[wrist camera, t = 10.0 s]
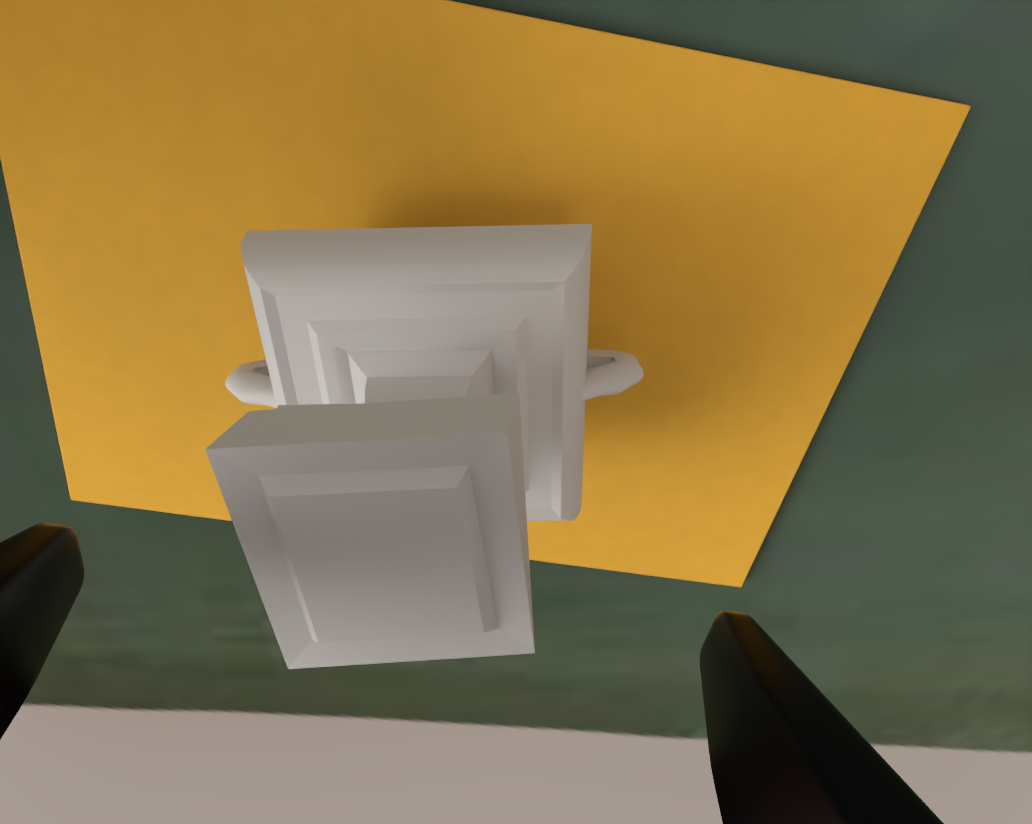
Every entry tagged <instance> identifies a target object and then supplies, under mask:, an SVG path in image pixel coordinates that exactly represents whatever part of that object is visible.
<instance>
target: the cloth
mask: <svg viewBox="0 0 1032 824" xmlns="http://www.w3.org/2000/svg"><path fill="white" fill-rule="evenodd" d="M970 107H971V106H969V105H965V104H961V103H956V102H951V101H946V100H941V99H936V98H931V97H926V96H921V95H916V94H911V93H906V92H901V91H896V90H892V89H887V88H882V87H877V86H872V85H867V84H862V83H857V82H852V81H847V80H842V79H837V78H832V77H827V76H822V75H817V74H812V73H807V72H802V71H797V70H792V69H787V68H782V67H777V66H772V65H767V64H762V63H757V62H753V61H748V60H743V59H738V58H733V57H728V56H723V55H718V54H713V53H708V52H703V51H698V50H693V49H688V48H683V47H678V46H673V45H668V44H663V43H658V42H653V41H648V40H643V39H638V38H633V37H628V36H623V35H618V34H614V33H609V32H604V31H599V30H594V29H589V28H584V27H579V26H574V25H569V24H564V23H559V22H554V21H549V20H544V19H539V18H534V17H529V16H524V15H519V14H514V13H509V12H504V11H499V10H494V9H489V8H484V7H480V6H475V5H470V4H465V3H460V2H455V1H450V0H0V159H1V163H2V168H3V173H4V178H5V183H6V188H7V192H8V197H9V202H10V207H11V212H12V217H13V222H14V226H15V231H16V236H17V241H18V246H19V251H20V255H21V260H22V265H23V270H24V275H25V280H26V284H27V289H28V294H29V299H30V304H31V309H32V313H33V318H34V323H35V328H36V333H37V338H38V343H39V347H40V352H41V357H42V362H43V367H44V372H45V376H46V381H47V386H48V391H49V396H50V401H51V405H52V410H53V415H54V420H55V425H56V430H57V435H58V439H59V444H60V449H61V454H62V459H63V464H64V468H65V473H66V478H67V483H68V488H69V493H70V497H71V500H75V501H83V502H91V503H98V504H106V505H114V506H121V507H129V508H137V509H144V510H152V511H160V512H167V513H175V514H183V515H190V516H198V517H206V518H214V519H221V520H229V521H232V519H231V516H230V514H229V511H228V508H227V506H226V503H225V501H224V498H223V495H222V493H221V490H220V487H219V485H218V482H217V479H216V477H215V474H214V471H213V469H212V466H211V464H210V461H209V458H208V456H207V453H206V450H205V449H206V448H207V447H208V446H209V445H210V444H212V443H213V442H214V441H215V440H216V439H217V438H218V437H220V436H221V435H222V434H223V433H224V432H225V431H226V430H228V429H229V428H230V427H231V426H232V425H233V424H234V423H236V422H237V421H238V420H239V419H240V418H241V417H243V416H244V415H245V414H246V413H247V412H248V411H257V410H272V409H277V408H274V407H270V406H266V405H255V404H246V403H244V402H241V401H240V400H239V399H238V398H237V397H236V396H234V395H233V394H232V393H231V392H230V391H229V390H228V389H227V387H226V386H225V381H226V379H227V377H228V376H229V375H230V374H231V373H232V372H233V371H234V370H235V369H236V368H237V367H238V366H239V365H241V364H245V363H250V362H254V361H258V360H266V358H265V354H264V349H263V345H262V341H261V336H260V332H259V328H258V324H257V319H256V315H255V311H254V307H253V302H252V298H251V294H250V290H249V285H248V281H247V277H246V273H245V268H244V264H243V257H242V250H241V242H242V241H243V239H244V237H245V235H246V231H268V230H317V229H366V228H414V227H463V226H512V225H560V224H592V237H591V264H590V291H589V319H588V346H587V348H589V349H600V350H615V351H620V352H625V353H630V354H632V355H634V356H635V357H636V358H637V360H638V362H639V364H640V365H641V367H642V369H643V373H644V375H643V378H642V379H641V380H640V381H639V382H637V383H636V384H634V385H632V386H631V387H629V388H627V389H626V390H624V391H623V392H621V393H619V394H614V395H604V396H598V397H594V398H591V399H587V400H586V401H585V428H584V455H583V483H582V500H581V512H580V513H579V515H578V516H577V517H576V519H575V520H570V521H527V531H528V548H529V560H536V561H544V562H551V563H559V564H567V565H574V566H582V567H590V568H597V569H605V570H613V571H620V572H628V573H636V574H643V575H651V576H659V577H666V578H674V579H682V580H689V581H697V582H705V583H712V584H720V585H728V586H735V587H741V586H742V584H743V582H744V580H745V578H746V576H747V574H748V572H749V570H750V568H751V566H752V563H753V561H754V559H755V557H756V555H757V553H758V551H759V549H760V547H761V545H762V543H763V540H764V538H765V536H766V534H767V532H768V530H769V528H770V526H771V524H772V522H773V520H774V517H775V515H776V513H777V511H778V509H779V507H780V505H781V503H782V501H783V499H784V497H785V494H786V492H787V490H788V488H789V486H790V484H791V482H792V480H793V478H794V476H795V474H796V471H797V469H798V467H799V465H800V463H801V461H802V459H803V457H804V455H805V453H806V451H807V448H808V446H809V444H810V442H811V440H812V438H813V436H814V434H815V432H816V430H817V428H818V425H819V423H820V421H821V419H822V417H823V415H824V413H825V411H826V409H827V407H828V405H829V402H830V400H831V398H832V396H833V394H834V392H835V390H836V388H837V386H838V384H839V382H840V379H841V377H842V375H843V373H844V371H845V369H846V367H847V365H848V363H849V361H850V359H851V356H852V354H853V352H854V350H855V348H856V346H857V344H858V342H859V340H860V338H861V336H862V333H863V331H864V329H865V327H866V325H867V323H868V321H869V319H870V317H871V315H872V313H873V310H874V308H875V306H876V304H877V302H878V300H879V298H880V296H881V294H882V292H883V290H884V287H885V285H886V283H887V281H888V279H889V277H890V275H891V273H892V271H893V269H894V267H895V264H896V262H897V260H898V258H899V256H900V254H901V252H902V250H903V248H904V246H905V244H906V241H907V239H908V237H909V235H910V233H911V231H912V229H913V227H914V225H915V223H916V221H917V218H918V216H919V214H920V212H921V210H922V208H923V206H924V204H925V202H926V200H927V198H928V196H929V193H930V191H931V189H932V187H933V185H934V183H935V181H936V179H937V177H938V175H939V173H940V170H941V168H942V166H943V164H944V162H945V160H946V158H947V156H948V154H949V152H950V150H951V147H952V145H953V143H954V141H955V139H956V137H957V135H958V133H959V131H960V129H961V127H962V124H963V122H964V120H965V118H966V116H967V114H968V112H969V110H970Z"/></svg>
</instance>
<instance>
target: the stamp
mask: <svg viewBox="0 0 1032 824" xmlns="http://www.w3.org/2000/svg"><path fill="white" fill-rule="evenodd" d="M591 237H592V224H560V225H512V226H463V227H414V228H366V229H317V230H268V231H246V235H245V237H244V239H243V241H242V242H241V250H242V257H243V264H244V268H245V273H246V277H247V281H248V285H249V290H250V294H251V298H252V302H253V307H254V311H255V315H256V319H257V324H258V328H259V332H260V336H261V341H262V345H263V349H264V354H265V358H266V360H258V361H254V362H250V363H245V364H241V365H239V366H238V367H237V368H236V369H235V370H234V371H233V372H232V373H231V374H230V375H229V376H228V377H227V379H226V381H225V386H226V387H227V389H228V390H229V391H230V392H231V393H232V394H233V395H234V396H236V397H237V398H238V399H239V400H240V401H241V402H244V403H246V404H255V405H266V406H270V407H274V408H277V409H272V410H257V411H248V412H247V413H246V414H245V415H244V416H243V417H241V418H240V419H239V420H238V421H237V422H236V423H234V424H233V425H232V426H231V427H230V428H229V429H228V430H226V431H225V432H224V433H223V434H222V435H221V436H220V437H218V438H217V439H216V440H215V441H214V442H213V443H212V444H210V445H209V446H208V447H207V448H206V449H205V450H206V453H207V456H208V458H209V461H210V464H211V466H212V469H213V471H214V474H215V477H216V479H217V482H218V485H219V487H220V490H221V493H222V495H223V498H224V501H225V503H226V506H227V508H228V511H229V514H230V516H231V519H232V522H233V524H234V527H235V530H236V532H237V535H238V538H239V540H240V543H241V545H242V548H243V551H244V553H245V556H246V559H247V561H248V564H249V567H250V569H251V572H252V575H253V577H254V580H255V583H256V585H257V588H258V590H259V593H260V596H261V598H262V601H263V604H264V606H265V609H266V612H267V614H268V617H269V620H270V622H271V625H272V627H273V630H274V633H275V635H276V638H277V641H278V643H279V646H280V649H281V651H282V654H283V657H284V659H285V662H286V664H287V667H288V669H297V668H313V667H328V666H344V665H359V664H375V663H390V662H406V661H421V660H437V659H453V658H468V657H484V656H499V655H515V654H530V653H535V649H534V632H533V615H532V598H531V581H530V565H529V548H528V531H527V521H570V520H575V519H576V517H577V516H578V515H579V513H580V512H581V500H582V483H583V455H584V428H585V401H586V400H587V399H591V398H594V397H598V396H604V395H614V394H619V393H621V392H623V391H624V390H626V389H627V388H629V387H631V386H632V385H634V384H636V383H637V382H639V381H640V380H641V379H642V378H643V375H644V373H643V369H642V367H641V365H640V364H639V362H638V360H637V358H636V357H635V356H634V355H632V354H630V353H625V352H620V351H615V350H600V349H589V348H587V346H588V319H589V291H590V264H591Z"/></svg>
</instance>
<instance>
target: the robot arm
mask: <svg viewBox="0 0 1032 824" xmlns="http://www.w3.org/2000/svg"><path fill="white" fill-rule="evenodd" d="M83 580H84V567H83V562H82V557H81V552H80V547H79V543H78V538H77V534H76V532H75V531H74V529H73V528H71V527H69V526H61V525H53V524H46V523H43V524H37V525H35V526H32V527H30V528H28V529H26V530H24V531H22V532H20V533H18V534H16V535H14V536H12V537H10V538H8V539H6V540H5V541H3V542H1V543H0V739H1V738H2V736H3V734H4V733H5V731H6V730H7V728H8V726H9V725H10V723H11V722H12V720H13V718H14V717H15V715H16V714H17V712H18V711H19V709H20V707H21V705H22V704H23V702H24V700H25V699H26V697H27V695H28V694H29V692H30V690H31V688H32V686H33V684H34V683H35V681H36V679H37V677H38V675H39V673H40V671H41V669H42V667H43V665H44V663H45V661H46V659H47V657H48V654H49V652H50V650H51V648H52V646H53V644H54V642H55V640H56V638H57V636H58V634H59V632H60V630H61V628H62V626H63V624H64V622H65V620H66V618H67V616H68V614H69V612H70V610H71V608H72V606H73V604H74V602H75V599H76V597H77V595H78V593H79V591H80V589H81V587H82V584H83ZM700 670H701V679H702V689H703V698H704V708H705V717H706V726H707V736H708V745H709V754H710V761H711V768H712V774H713V779H714V784H715V789H716V793H717V798H718V803H719V807H720V812H721V816H722V821H723V824H944V823H943V822H942V821H941V820H940V819H939V818H938V817H937V816H936V815H935V814H934V813H933V812H932V811H931V810H930V809H929V807H928V806H927V805H926V804H925V803H924V802H923V801H922V800H921V799H920V798H919V797H918V796H917V795H916V793H915V792H914V791H913V790H912V789H911V788H910V787H909V786H908V785H907V784H906V783H905V782H904V781H903V779H902V778H901V777H900V776H899V775H898V774H897V773H896V772H895V771H894V770H893V769H892V768H891V767H890V765H888V763H887V762H886V761H885V760H884V759H883V758H882V757H881V756H880V755H879V754H878V753H877V752H876V751H875V749H874V748H873V747H872V746H871V745H870V744H869V743H868V742H867V741H866V740H865V739H864V738H863V736H862V735H861V734H860V733H859V732H858V731H857V730H856V729H855V728H854V727H853V726H852V725H851V724H850V723H849V721H848V720H847V719H846V718H845V717H844V716H843V715H842V714H841V713H840V712H839V711H838V710H837V709H836V707H835V706H834V705H833V704H832V703H831V702H830V701H829V700H828V699H827V698H826V697H825V696H824V695H823V694H822V692H821V691H820V690H819V689H818V688H817V687H816V686H815V685H814V684H813V683H812V682H811V681H810V680H809V678H808V677H807V676H806V675H805V674H804V673H803V672H802V671H801V670H800V669H799V668H798V667H797V666H796V665H795V663H794V662H793V661H792V660H791V659H790V658H789V657H788V656H787V655H786V654H785V653H784V652H783V651H782V649H781V648H780V647H779V646H778V645H777V644H776V643H775V642H774V641H773V640H772V639H771V638H770V637H769V636H768V634H767V633H766V632H765V631H764V630H763V629H762V628H761V627H760V626H759V625H758V624H757V623H756V622H755V620H754V619H753V618H751V617H750V616H749V615H747V614H743V613H735V612H728V611H723V612H720V613H719V614H718V615H717V616H716V618H715V620H714V622H713V624H712V627H711V629H710V631H709V633H708V635H707V637H706V639H705V642H704V644H703V646H702V649H701V653H700Z"/></svg>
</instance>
